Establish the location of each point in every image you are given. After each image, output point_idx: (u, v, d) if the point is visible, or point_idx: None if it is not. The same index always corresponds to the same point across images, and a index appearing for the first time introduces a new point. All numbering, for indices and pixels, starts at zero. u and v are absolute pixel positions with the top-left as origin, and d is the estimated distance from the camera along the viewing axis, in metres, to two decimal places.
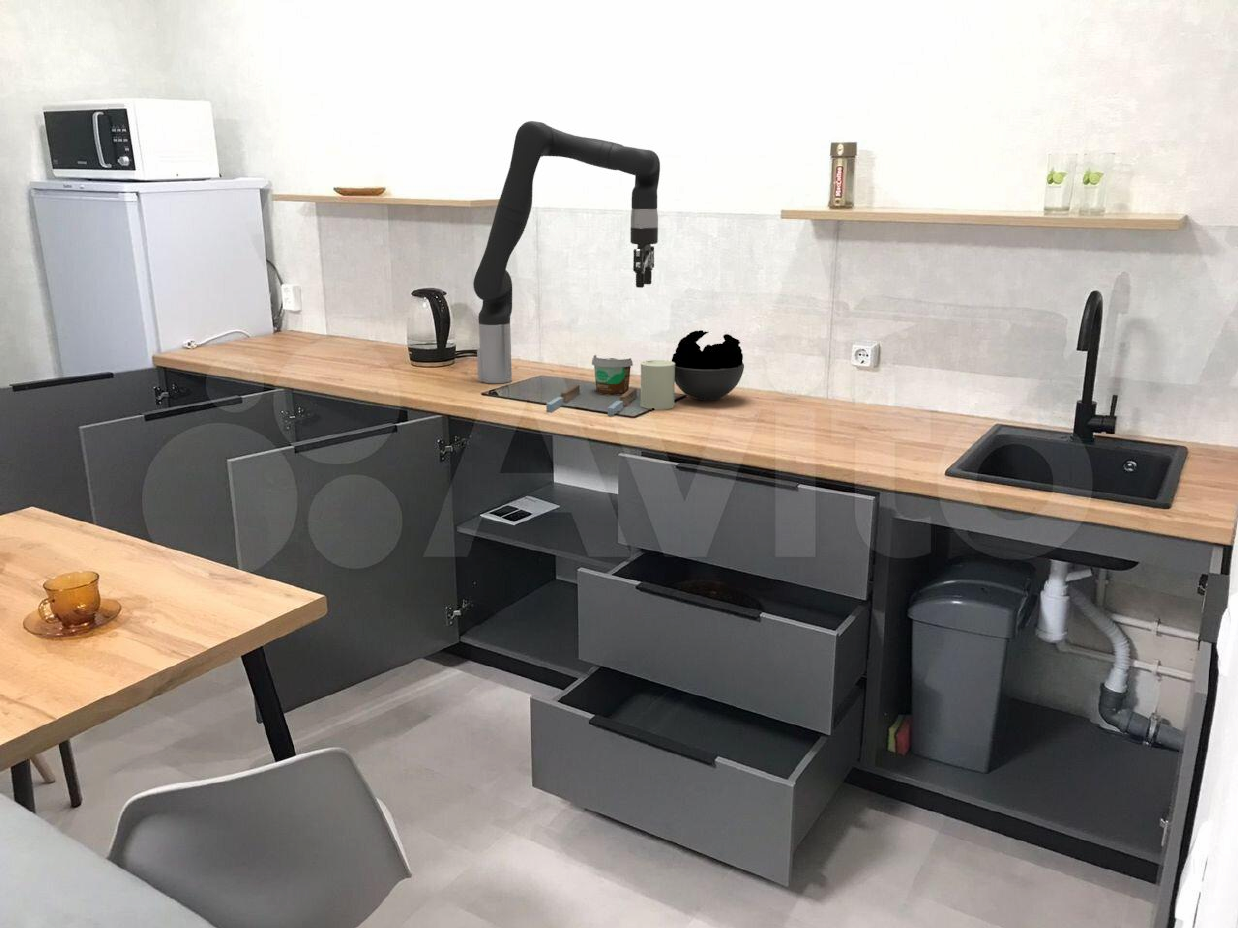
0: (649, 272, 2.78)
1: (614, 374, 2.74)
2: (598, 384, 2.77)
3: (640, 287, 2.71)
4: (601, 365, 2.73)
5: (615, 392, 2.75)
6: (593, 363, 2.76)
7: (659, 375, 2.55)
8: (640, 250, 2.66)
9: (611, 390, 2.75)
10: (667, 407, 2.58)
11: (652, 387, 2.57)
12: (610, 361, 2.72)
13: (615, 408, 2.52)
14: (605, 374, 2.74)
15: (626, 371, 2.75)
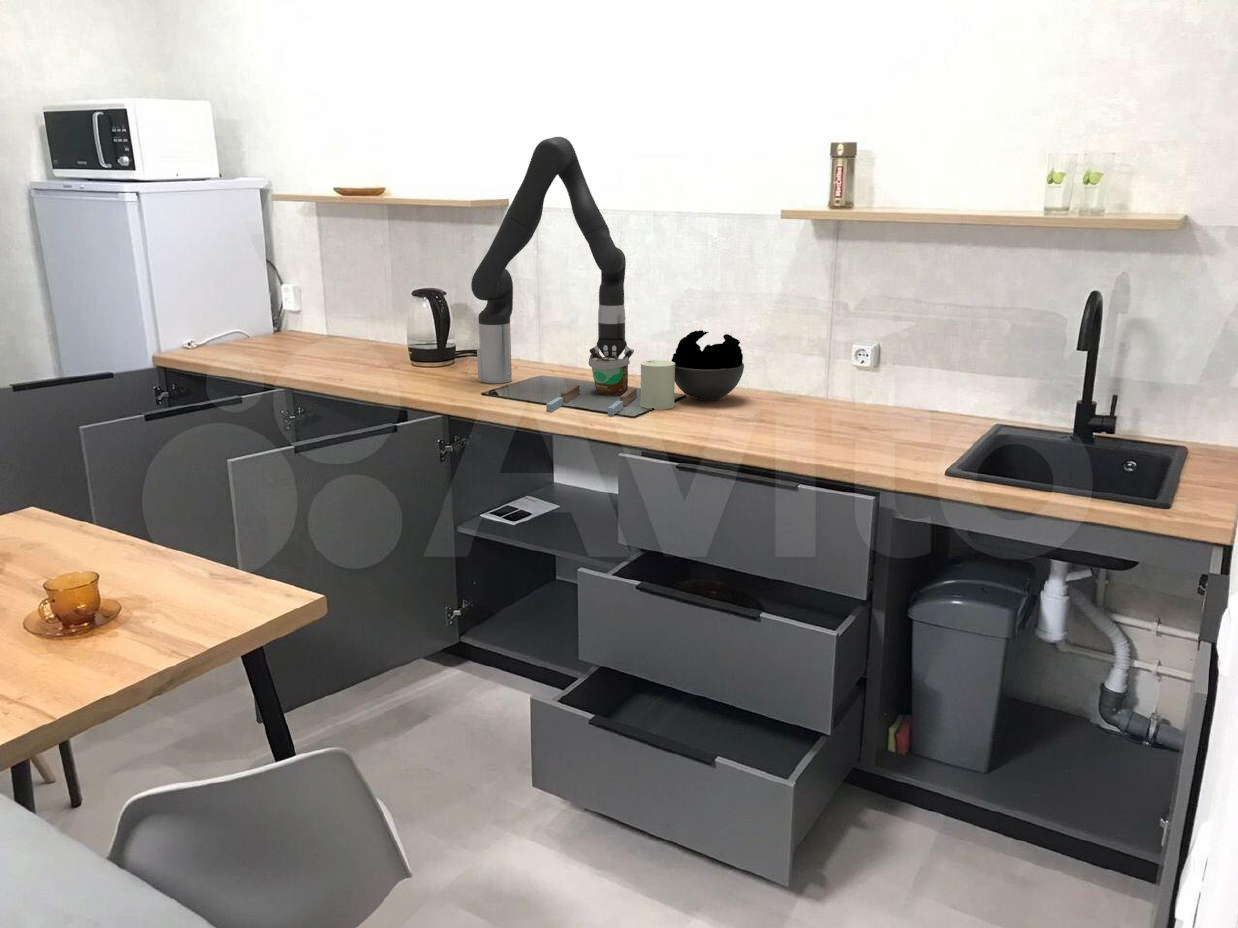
0: None
1: (612, 375, 2.72)
2: (597, 384, 2.76)
3: None
4: (598, 367, 2.72)
5: (615, 392, 2.75)
6: (590, 364, 2.74)
7: (659, 375, 2.55)
8: (633, 351, 2.77)
9: (611, 390, 2.75)
10: (667, 407, 2.58)
11: (652, 387, 2.57)
12: (607, 363, 2.71)
13: (615, 408, 2.52)
14: (603, 375, 2.73)
15: (624, 370, 2.74)
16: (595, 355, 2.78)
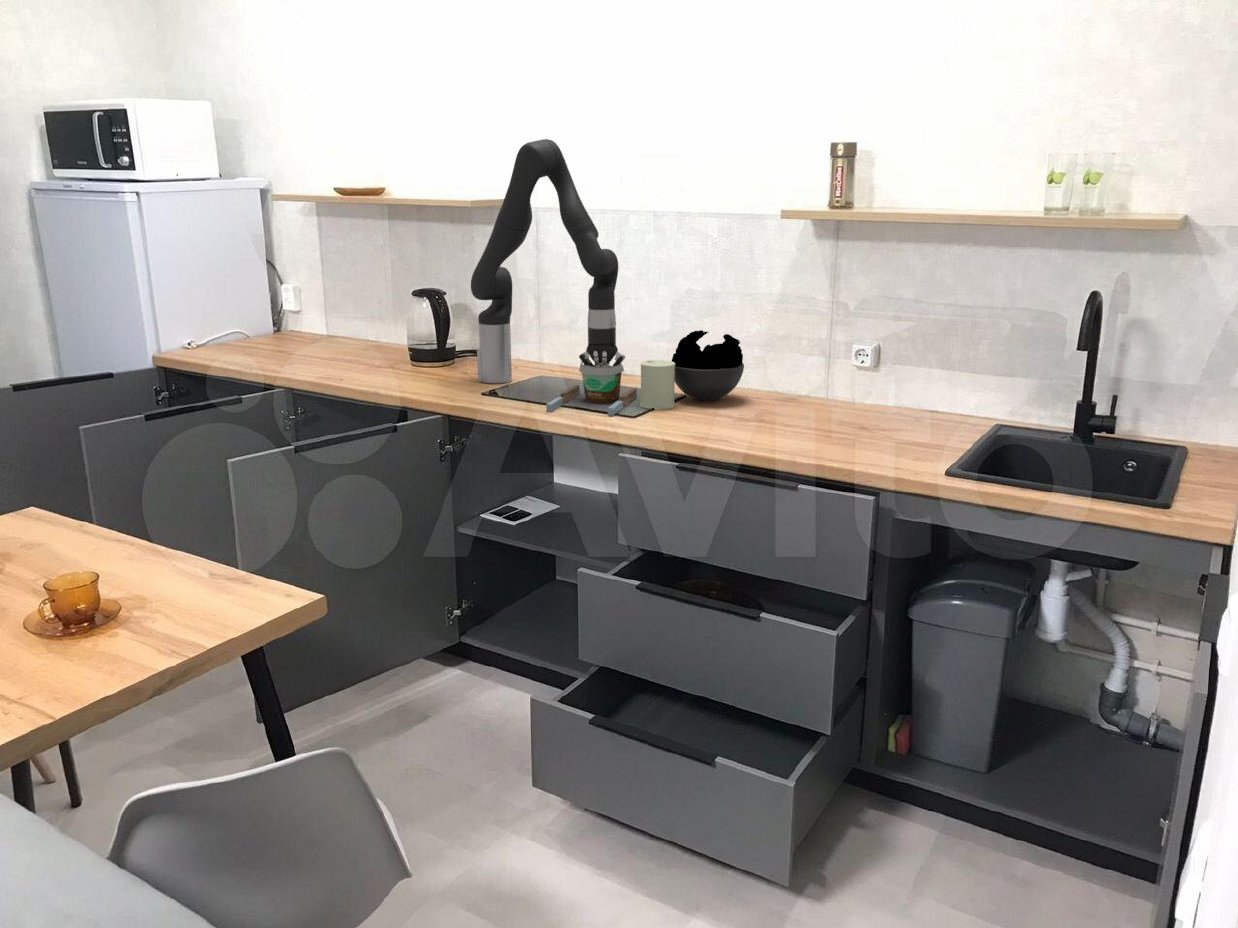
0: None
1: (607, 382, 2.63)
2: (589, 392, 2.66)
3: None
4: (593, 373, 2.62)
5: (608, 400, 2.65)
6: (583, 371, 2.64)
7: (659, 375, 2.55)
8: (624, 357, 2.67)
9: (604, 398, 2.65)
10: (667, 407, 2.58)
11: (652, 387, 2.57)
12: (603, 369, 2.61)
13: (615, 408, 2.52)
14: (598, 382, 2.63)
15: (618, 377, 2.65)
16: (585, 361, 2.68)
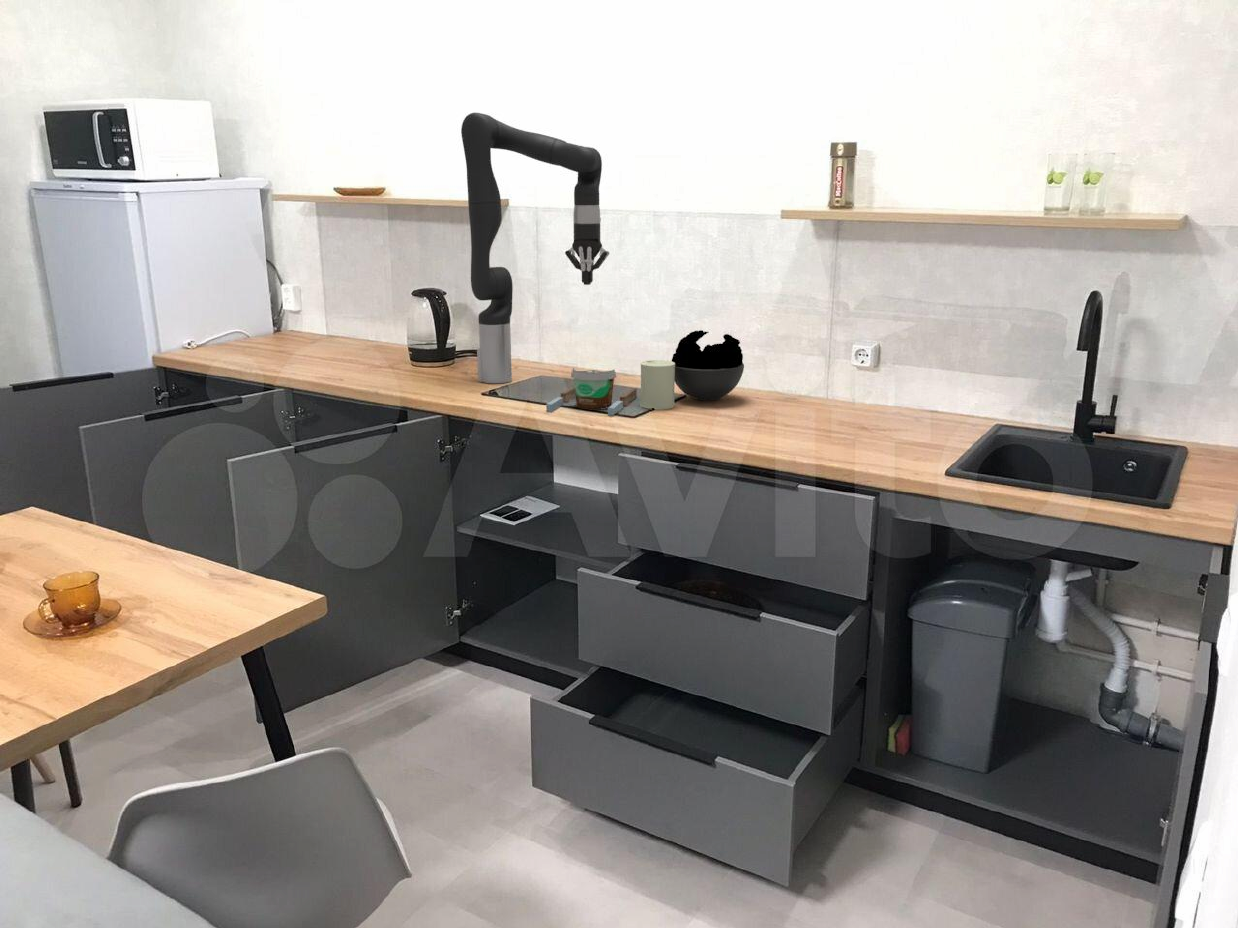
0: None
1: (599, 387, 2.56)
2: (580, 398, 2.58)
3: (589, 284, 2.81)
4: (585, 378, 2.55)
5: (600, 406, 2.58)
6: (574, 376, 2.57)
7: (659, 375, 2.55)
8: (608, 253, 2.78)
9: (596, 405, 2.58)
10: (667, 407, 2.58)
11: (652, 387, 2.57)
12: (595, 373, 2.55)
13: (615, 408, 2.52)
14: (590, 388, 2.56)
15: (610, 383, 2.58)
16: (570, 257, 2.79)
